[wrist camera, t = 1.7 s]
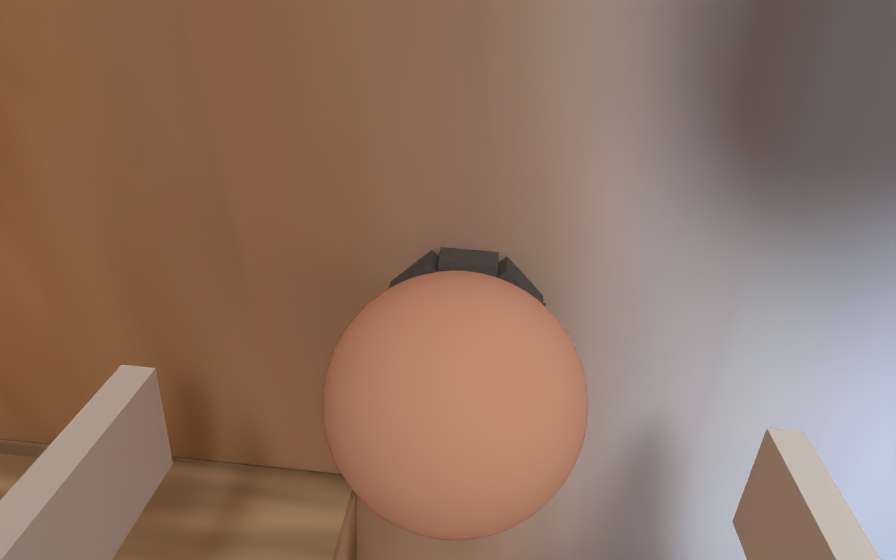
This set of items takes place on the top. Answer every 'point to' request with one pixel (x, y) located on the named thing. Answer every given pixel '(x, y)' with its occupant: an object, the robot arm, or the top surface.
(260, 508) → the box
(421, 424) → the terra ball
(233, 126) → the top surface
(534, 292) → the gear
